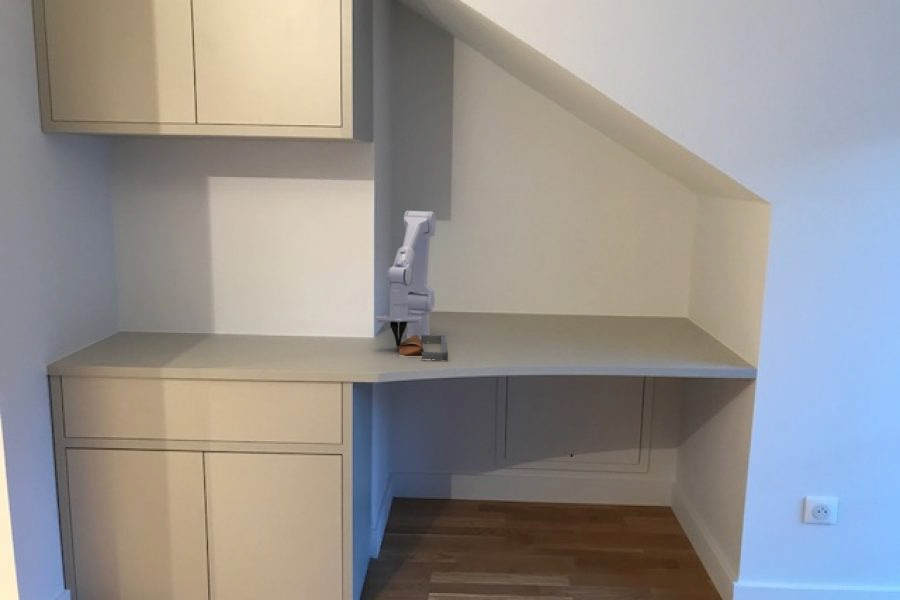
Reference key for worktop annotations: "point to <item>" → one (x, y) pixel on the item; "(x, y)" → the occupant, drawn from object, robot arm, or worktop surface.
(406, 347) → the sunglasses case
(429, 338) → the keeper bracket
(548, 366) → the worktop surface
